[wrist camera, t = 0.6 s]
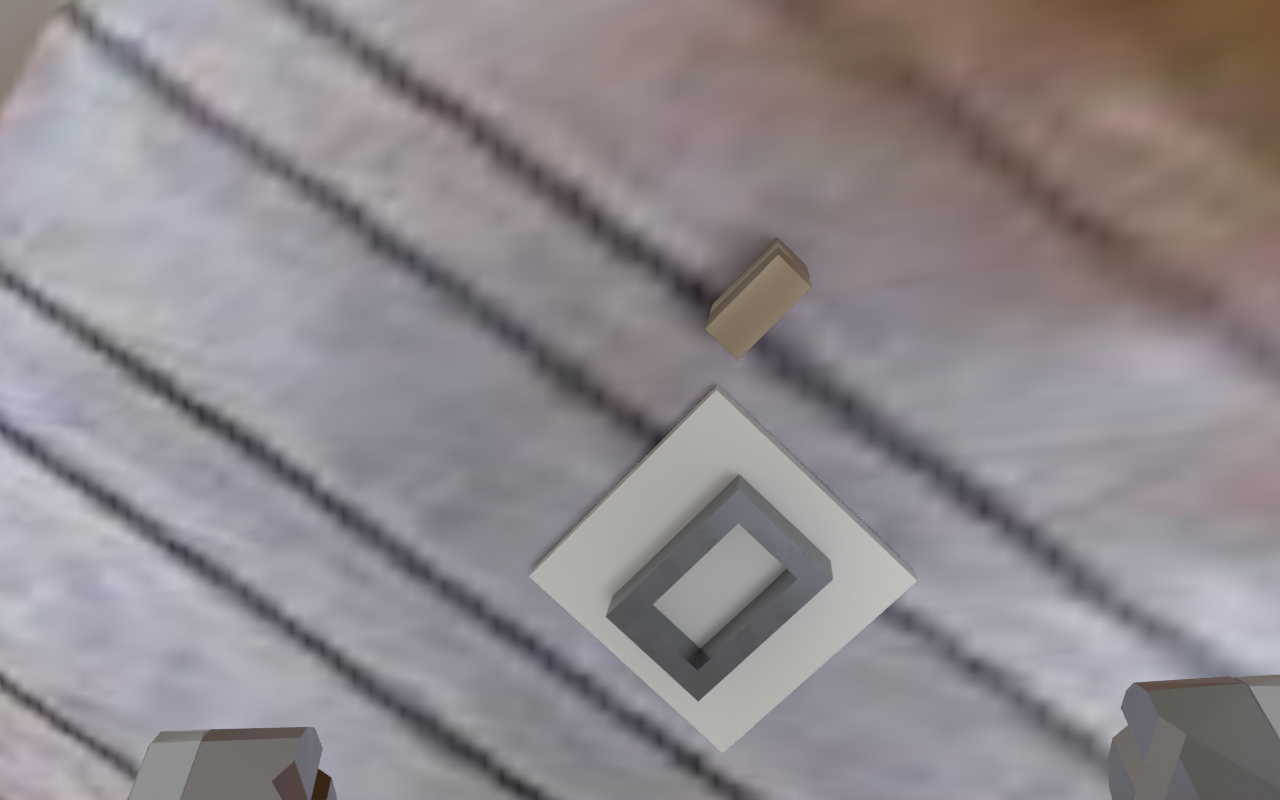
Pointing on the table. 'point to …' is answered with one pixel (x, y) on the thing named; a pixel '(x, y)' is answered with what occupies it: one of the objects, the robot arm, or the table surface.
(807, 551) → the frame
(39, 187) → the table surface
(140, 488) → the table surface
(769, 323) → the wooden block
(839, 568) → the plate
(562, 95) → the table surface
